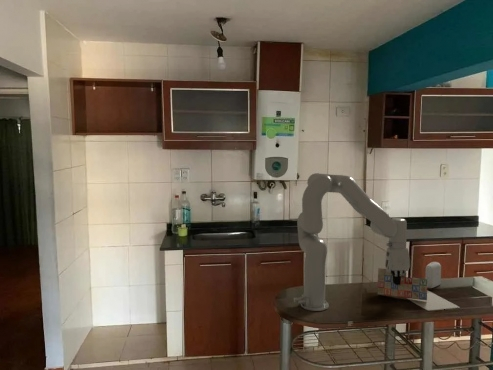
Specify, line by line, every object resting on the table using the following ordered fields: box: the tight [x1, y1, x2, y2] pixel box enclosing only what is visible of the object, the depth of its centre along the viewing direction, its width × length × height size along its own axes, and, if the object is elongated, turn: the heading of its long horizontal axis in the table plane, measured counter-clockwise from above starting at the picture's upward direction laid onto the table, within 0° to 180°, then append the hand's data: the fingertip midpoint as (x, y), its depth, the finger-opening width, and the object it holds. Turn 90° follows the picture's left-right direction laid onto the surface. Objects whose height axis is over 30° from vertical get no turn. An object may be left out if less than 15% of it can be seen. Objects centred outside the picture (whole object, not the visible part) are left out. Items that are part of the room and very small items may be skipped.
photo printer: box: [424, 261, 442, 289], centre depth 195 cm, size 10×4×12 cm, turn 127°
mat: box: [406, 289, 461, 312], centre depth 178 cm, size 16×26×1 cm, turn 11°
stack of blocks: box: [377, 267, 428, 301], centre depth 177 cm, size 21×6×12 cm, turn 62°
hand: (396, 283), depth 174 cm, fingers closed
